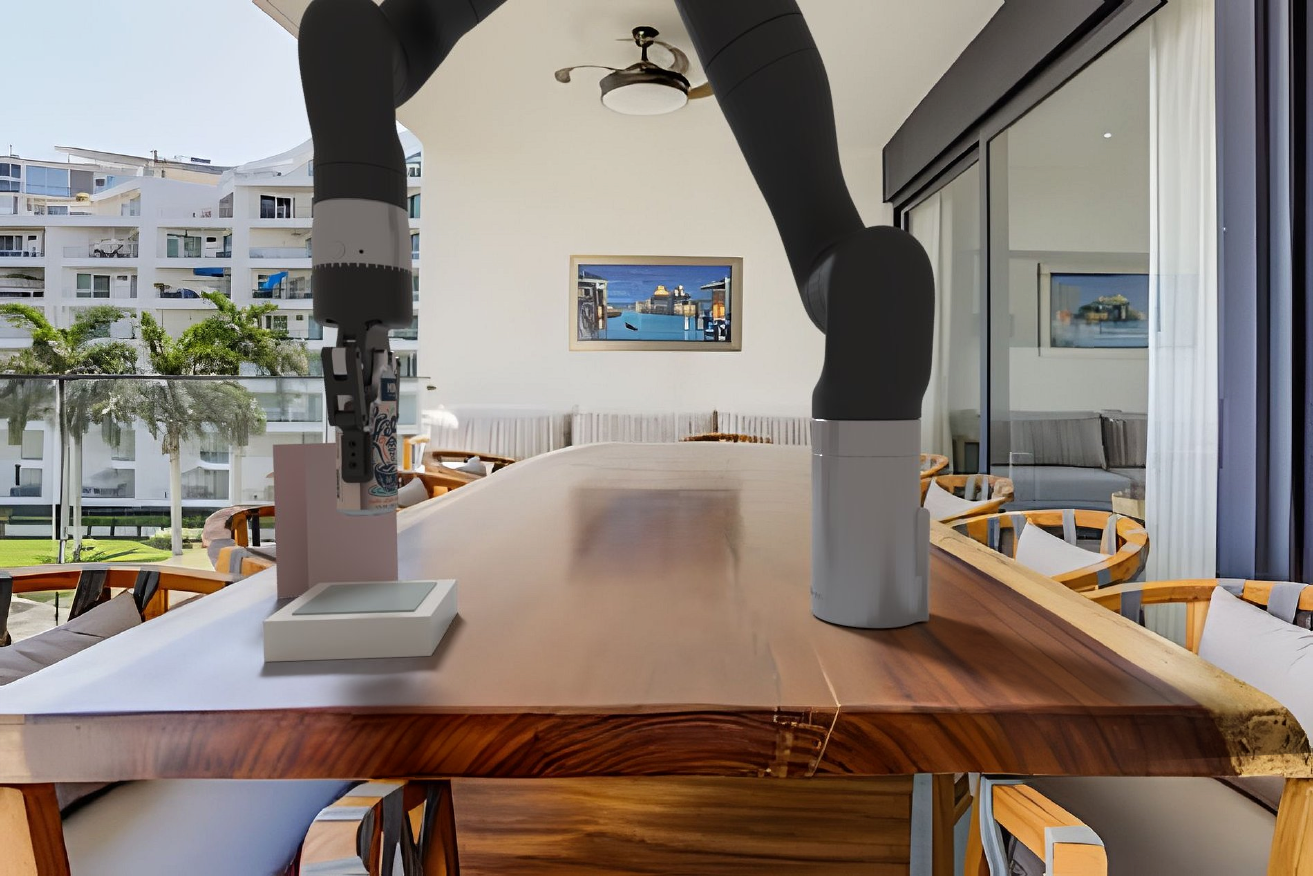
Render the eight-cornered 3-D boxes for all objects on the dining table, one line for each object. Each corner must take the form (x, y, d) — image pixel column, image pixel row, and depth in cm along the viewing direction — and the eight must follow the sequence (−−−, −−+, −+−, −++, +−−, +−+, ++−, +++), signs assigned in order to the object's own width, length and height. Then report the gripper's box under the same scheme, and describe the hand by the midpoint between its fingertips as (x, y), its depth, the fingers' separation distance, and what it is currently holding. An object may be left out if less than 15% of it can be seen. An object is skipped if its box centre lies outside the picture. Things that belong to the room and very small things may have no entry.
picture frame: (457, 612, 69) (457, 577, 69) (431, 655, 57) (430, 614, 57) (320, 616, 68) (319, 581, 68) (264, 661, 56) (262, 619, 56)
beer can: (378, 518, 60) (374, 363, 59) (323, 516, 61) (319, 364, 60) (410, 509, 64) (407, 365, 64) (358, 508, 65) (355, 366, 65)
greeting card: (396, 581, 81) (393, 440, 81) (413, 596, 75) (410, 443, 74) (276, 596, 76) (271, 444, 75) (284, 614, 69) (279, 447, 68)
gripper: (388, 250, 55) (393, 488, 56) (429, 281, 69) (432, 470, 70) (278, 248, 54) (285, 490, 55) (342, 280, 68) (347, 471, 69)
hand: (367, 478), depth 62 cm, fingers closed on beer can, 4 cm apart
